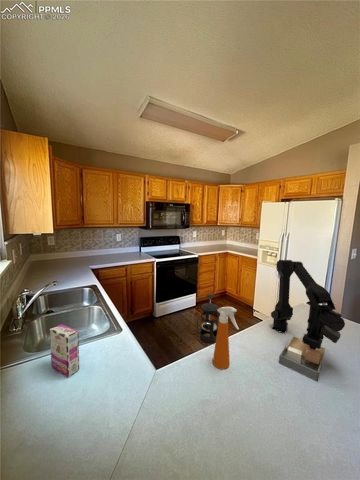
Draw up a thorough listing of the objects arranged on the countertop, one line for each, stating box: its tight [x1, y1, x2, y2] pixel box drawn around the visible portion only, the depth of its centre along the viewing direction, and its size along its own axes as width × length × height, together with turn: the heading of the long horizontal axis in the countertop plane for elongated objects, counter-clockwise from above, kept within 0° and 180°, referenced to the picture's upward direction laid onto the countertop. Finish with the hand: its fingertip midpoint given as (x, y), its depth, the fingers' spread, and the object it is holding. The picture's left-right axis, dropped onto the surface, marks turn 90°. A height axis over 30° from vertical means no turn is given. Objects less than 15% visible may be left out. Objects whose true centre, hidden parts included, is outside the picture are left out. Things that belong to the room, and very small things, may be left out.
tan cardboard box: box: [305, 347, 320, 365], centre depth 85 cm, size 5×5×3 cm
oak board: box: [286, 336, 326, 367], centre depth 92 cm, size 13×13×2 cm
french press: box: [196, 293, 220, 345], centre depth 100 cm, size 12×9×23 cm
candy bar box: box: [49, 323, 80, 379], centre depth 78 cm, size 11×5×16 cm, turn 62°
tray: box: [278, 345, 323, 382], centre depth 84 cm, size 14×9×4 cm, turn 48°
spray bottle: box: [212, 306, 240, 370], centre depth 81 cm, size 7×11×26 cm, turn 39°
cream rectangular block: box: [287, 347, 302, 364], centre depth 86 cm, size 5×5×3 cm
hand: (312, 351), depth 88 cm, fingers closed
